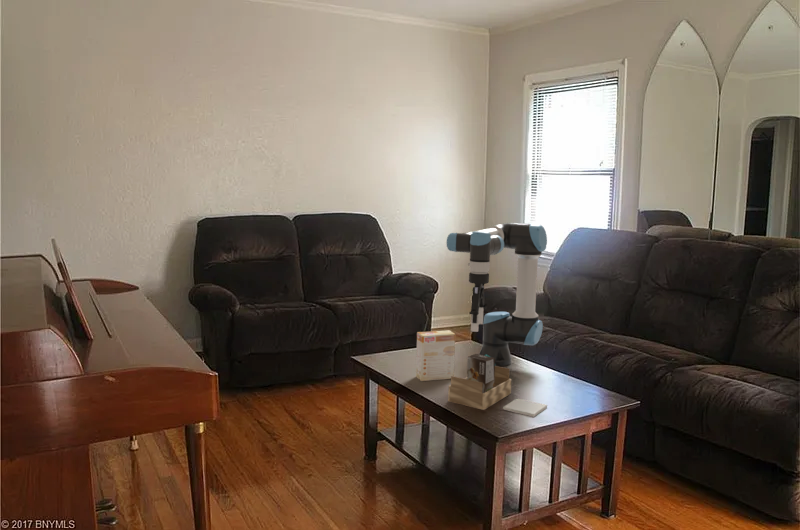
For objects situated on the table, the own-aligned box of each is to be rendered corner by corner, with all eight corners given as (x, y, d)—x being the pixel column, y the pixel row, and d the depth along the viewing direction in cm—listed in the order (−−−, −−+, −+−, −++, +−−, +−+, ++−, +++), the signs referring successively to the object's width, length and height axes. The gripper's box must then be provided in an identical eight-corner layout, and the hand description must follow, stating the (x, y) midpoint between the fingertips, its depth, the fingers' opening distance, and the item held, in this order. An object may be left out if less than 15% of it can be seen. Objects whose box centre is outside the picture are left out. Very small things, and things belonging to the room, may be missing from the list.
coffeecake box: (448, 374, 280) (449, 329, 277) (454, 378, 273) (456, 333, 270) (415, 376, 275) (416, 331, 273) (420, 381, 268) (422, 335, 266)
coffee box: (494, 398, 250) (496, 357, 247) (484, 402, 245) (486, 361, 243) (475, 392, 256) (476, 353, 254) (465, 396, 251) (466, 356, 249)
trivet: (517, 400, 248) (517, 398, 247) (546, 407, 241) (547, 404, 241) (503, 409, 238) (503, 406, 238) (534, 416, 231) (534, 414, 231)
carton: (476, 386, 264) (477, 362, 263) (510, 393, 256) (511, 369, 254) (448, 401, 245) (448, 375, 244) (483, 410, 237) (484, 383, 235)
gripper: (473, 267, 258) (471, 320, 261) (464, 276, 234) (462, 333, 237) (492, 268, 256) (490, 321, 259) (485, 277, 232) (482, 335, 235)
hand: (476, 327), depth 248 cm, fingers open, 13 cm apart
